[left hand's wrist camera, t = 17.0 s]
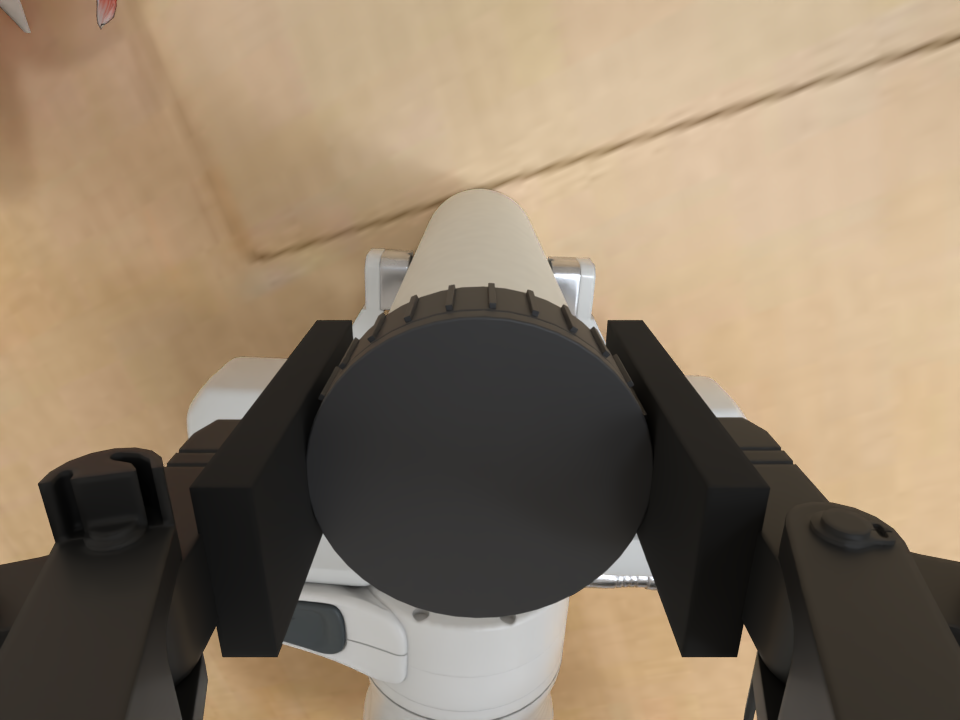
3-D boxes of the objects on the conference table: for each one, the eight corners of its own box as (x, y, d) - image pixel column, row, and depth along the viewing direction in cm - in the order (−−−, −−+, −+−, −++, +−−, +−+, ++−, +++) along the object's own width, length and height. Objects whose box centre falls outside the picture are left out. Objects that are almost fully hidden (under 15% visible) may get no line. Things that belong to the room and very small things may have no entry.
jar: (513, 171, 27) (574, 285, 10) (549, 276, 28) (655, 534, 11) (407, 212, 27) (286, 387, 10) (448, 312, 29) (402, 609, 12)
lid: (259, 401, 12) (223, 448, 10) (518, 211, 10) (525, 231, 9) (448, 602, 13) (445, 670, 12) (691, 460, 12) (724, 515, 10)
